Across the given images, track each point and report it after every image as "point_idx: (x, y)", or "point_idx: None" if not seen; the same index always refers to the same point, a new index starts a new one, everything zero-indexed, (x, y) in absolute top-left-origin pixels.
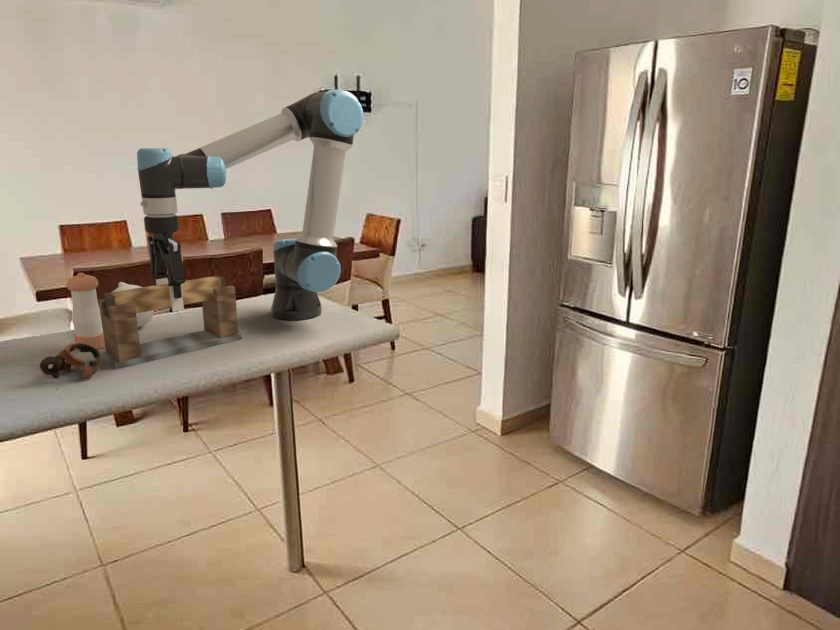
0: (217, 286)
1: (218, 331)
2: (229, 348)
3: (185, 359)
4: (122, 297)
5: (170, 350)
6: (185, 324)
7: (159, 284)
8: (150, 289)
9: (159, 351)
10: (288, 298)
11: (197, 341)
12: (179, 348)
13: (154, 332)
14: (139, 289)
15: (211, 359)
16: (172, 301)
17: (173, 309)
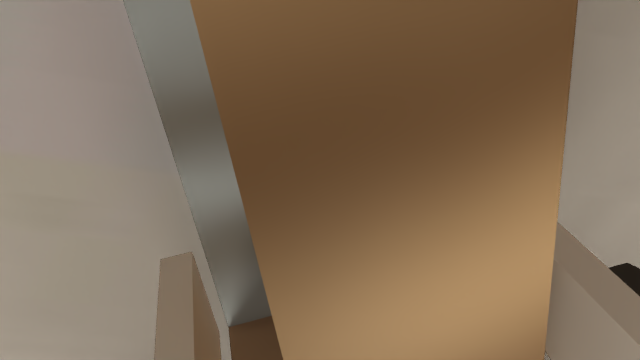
0: None
1: (253, 346)
2: (138, 328)
3: (45, 122)
4: None
5: (147, 71)
6: (620, 205)
7: (617, 346)
8: (319, 241)
9: (151, 2)
10: None
11: (239, 228)
12: (164, 125)
13: (620, 50)
14: (448, 59)
15: None
16: (155, 343)
17: (159, 279)
